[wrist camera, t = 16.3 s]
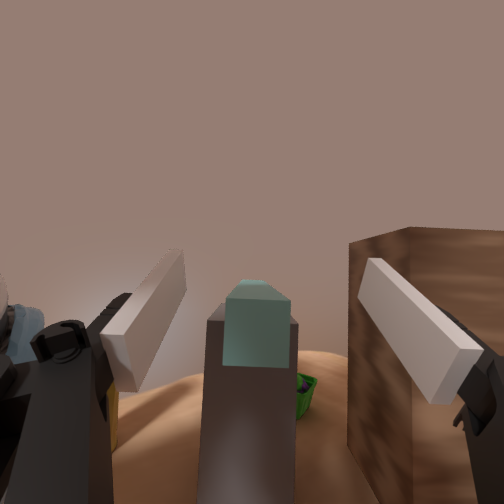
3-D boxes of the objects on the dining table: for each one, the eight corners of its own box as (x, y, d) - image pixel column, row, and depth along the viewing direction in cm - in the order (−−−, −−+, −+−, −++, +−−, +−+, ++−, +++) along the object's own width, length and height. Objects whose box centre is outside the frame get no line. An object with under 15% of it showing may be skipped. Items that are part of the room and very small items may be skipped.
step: (292, 546, 21) (298, 324, 23) (194, 543, 21) (206, 320, 23) (277, 447, 33) (281, 305, 35) (214, 445, 33) (221, 303, 35)
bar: (288, 368, 12) (290, 300, 13) (222, 365, 12) (225, 297, 13) (262, 302, 38) (263, 280, 38) (241, 301, 38) (242, 279, 38)
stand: (526, 567, 21) (510, 231, 23) (414, 563, 20) (409, 226, 23) (414, 447, 34) (411, 246, 37) (347, 444, 34) (349, 243, 37)
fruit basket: (318, 406, 44) (319, 345, 45) (300, 431, 37) (302, 358, 38) (266, 387, 51) (268, 334, 52) (242, 405, 43) (245, 343, 44)
